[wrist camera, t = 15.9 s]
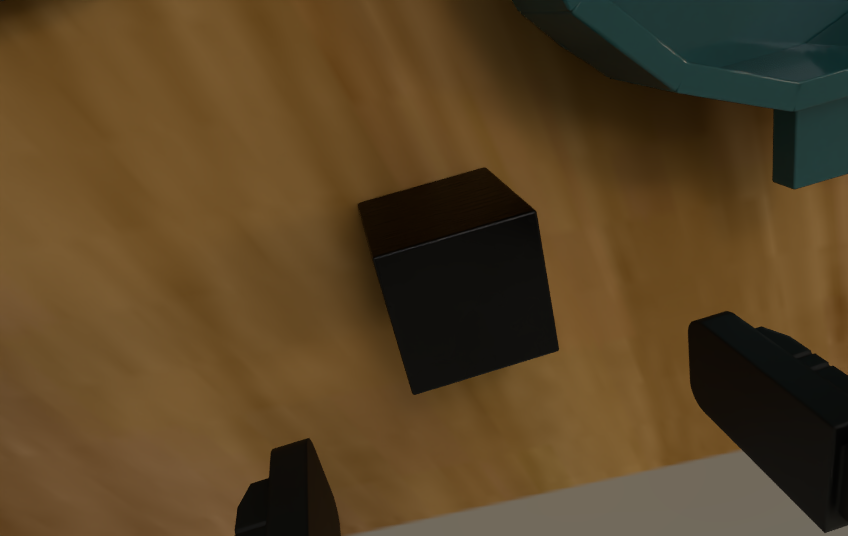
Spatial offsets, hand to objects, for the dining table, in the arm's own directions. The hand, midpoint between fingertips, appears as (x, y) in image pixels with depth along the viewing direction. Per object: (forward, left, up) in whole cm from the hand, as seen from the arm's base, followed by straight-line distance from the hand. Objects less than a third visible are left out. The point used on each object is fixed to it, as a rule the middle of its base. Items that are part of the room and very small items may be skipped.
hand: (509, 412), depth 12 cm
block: (0, 0, -10) cm, 10 cm away
